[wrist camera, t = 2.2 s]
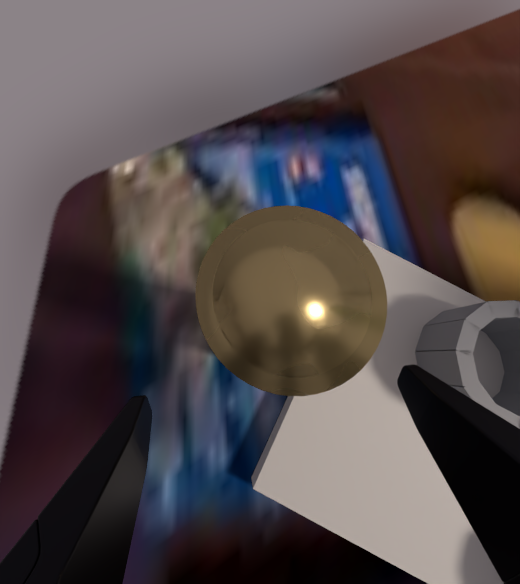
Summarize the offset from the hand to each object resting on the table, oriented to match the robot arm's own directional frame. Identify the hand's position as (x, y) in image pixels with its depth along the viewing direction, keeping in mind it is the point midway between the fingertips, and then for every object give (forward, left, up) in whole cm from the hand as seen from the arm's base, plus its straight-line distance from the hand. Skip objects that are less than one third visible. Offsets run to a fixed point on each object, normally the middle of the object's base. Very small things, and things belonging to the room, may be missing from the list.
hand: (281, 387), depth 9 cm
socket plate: (+3, -14, -10) cm, 17 cm away
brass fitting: (+2, +1, -10) cm, 10 cm away
